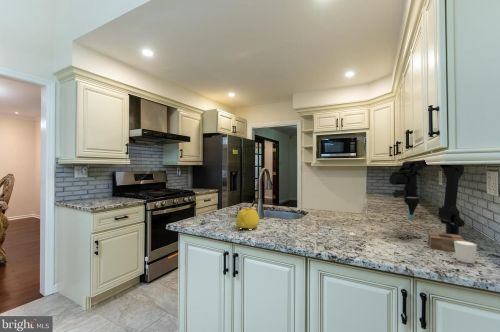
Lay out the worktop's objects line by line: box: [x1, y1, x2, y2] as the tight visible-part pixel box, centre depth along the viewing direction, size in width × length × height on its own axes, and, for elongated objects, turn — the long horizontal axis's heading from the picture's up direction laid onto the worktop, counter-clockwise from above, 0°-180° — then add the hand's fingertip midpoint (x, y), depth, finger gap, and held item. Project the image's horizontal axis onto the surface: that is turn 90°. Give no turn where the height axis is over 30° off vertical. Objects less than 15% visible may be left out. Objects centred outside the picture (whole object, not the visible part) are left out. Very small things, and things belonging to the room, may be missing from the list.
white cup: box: [454, 240, 478, 264], centre depth 96 cm, size 7×7×7 cm
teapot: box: [235, 206, 261, 230], centre depth 150 cm, size 14×20×13 cm
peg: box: [407, 207, 416, 221], centre depth 126 cm, size 3×3×9 cm
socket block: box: [427, 231, 466, 253], centre depth 112 cm, size 12×12×5 cm
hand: (411, 214), depth 126 cm, fingers closed on peg, 3 cm apart
